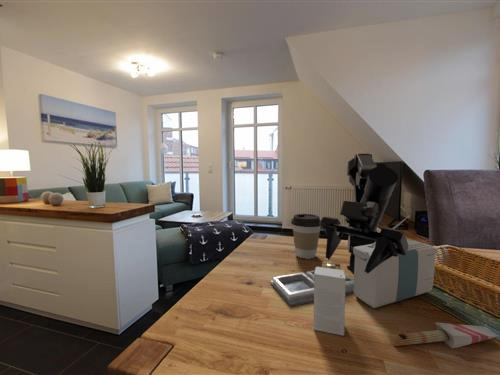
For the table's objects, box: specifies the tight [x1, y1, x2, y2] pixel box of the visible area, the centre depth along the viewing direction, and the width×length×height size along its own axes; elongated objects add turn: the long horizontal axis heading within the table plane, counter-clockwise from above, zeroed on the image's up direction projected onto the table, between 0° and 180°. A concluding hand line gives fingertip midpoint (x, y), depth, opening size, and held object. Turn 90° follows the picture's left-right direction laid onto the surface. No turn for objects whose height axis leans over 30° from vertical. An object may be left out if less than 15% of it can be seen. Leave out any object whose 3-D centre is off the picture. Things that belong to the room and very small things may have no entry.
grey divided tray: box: [269, 260, 354, 307], centre depth 66 cm, size 21×12×6 cm, turn 109°
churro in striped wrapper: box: [389, 322, 499, 349], centre depth 46 cm, size 4×3×20 cm
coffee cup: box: [290, 213, 322, 260], centre depth 89 cm, size 11×11×15 cm
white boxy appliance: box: [353, 215, 436, 309], centre depth 61 cm, size 21×8×20 cm, turn 112°
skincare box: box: [313, 266, 346, 337], centre depth 50 cm, size 6×4×12 cm
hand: (345, 265), depth 53 cm, fingers open, 9 cm apart
